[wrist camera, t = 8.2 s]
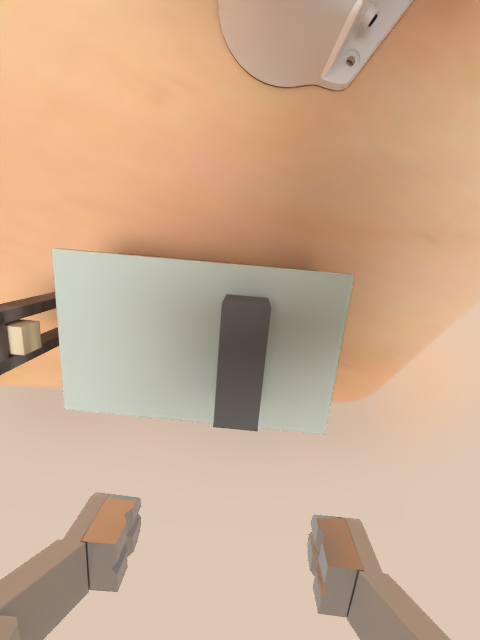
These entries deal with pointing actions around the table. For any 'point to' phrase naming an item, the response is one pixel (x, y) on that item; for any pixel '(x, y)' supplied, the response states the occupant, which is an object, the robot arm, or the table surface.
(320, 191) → the table surface
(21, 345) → the light wooden beam
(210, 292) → the lid
